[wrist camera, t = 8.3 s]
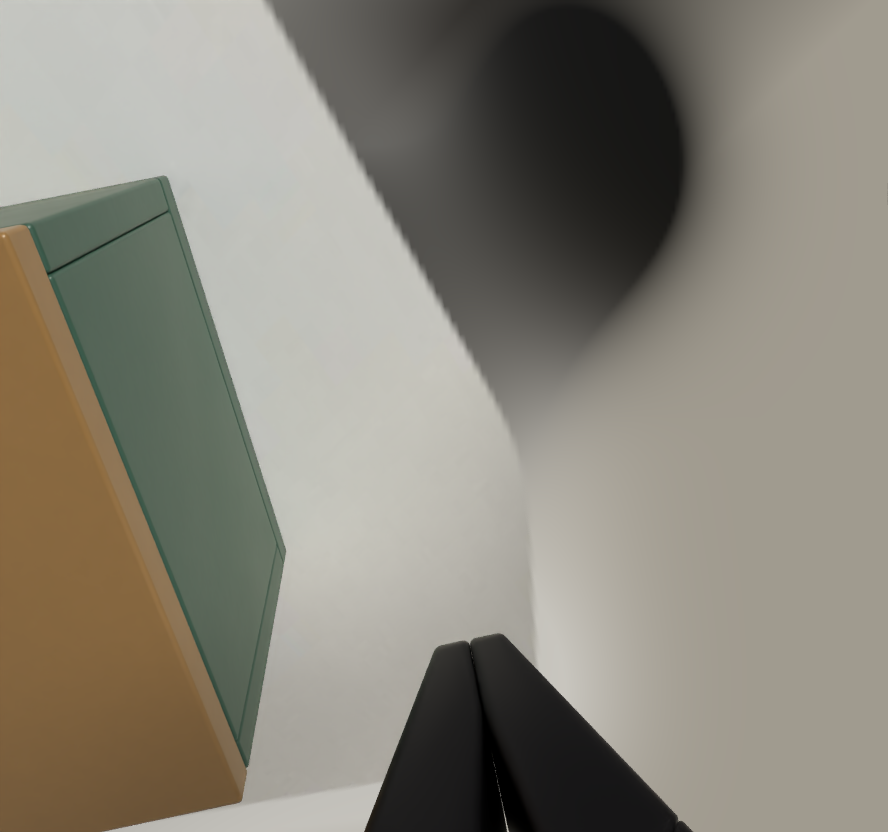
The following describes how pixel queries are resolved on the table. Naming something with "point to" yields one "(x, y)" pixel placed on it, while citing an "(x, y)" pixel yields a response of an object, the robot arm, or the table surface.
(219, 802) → the lid
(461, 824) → the robot arm
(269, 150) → the table surface
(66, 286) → the green open box
